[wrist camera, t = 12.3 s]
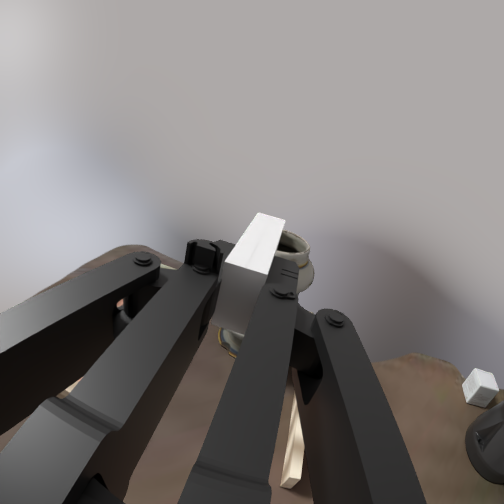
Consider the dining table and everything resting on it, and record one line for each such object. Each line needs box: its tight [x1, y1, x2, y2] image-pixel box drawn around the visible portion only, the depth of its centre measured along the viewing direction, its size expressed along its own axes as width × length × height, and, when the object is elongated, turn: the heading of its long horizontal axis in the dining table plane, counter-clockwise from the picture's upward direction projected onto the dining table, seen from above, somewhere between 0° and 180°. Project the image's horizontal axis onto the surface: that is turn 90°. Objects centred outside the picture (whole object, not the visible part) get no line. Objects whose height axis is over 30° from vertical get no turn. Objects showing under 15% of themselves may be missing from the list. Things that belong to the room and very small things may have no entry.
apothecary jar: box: [218, 230, 314, 358], centre depth 44 cm, size 12×12×18 cm
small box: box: [462, 368, 499, 408], centre depth 42 cm, size 6×6×5 cm
